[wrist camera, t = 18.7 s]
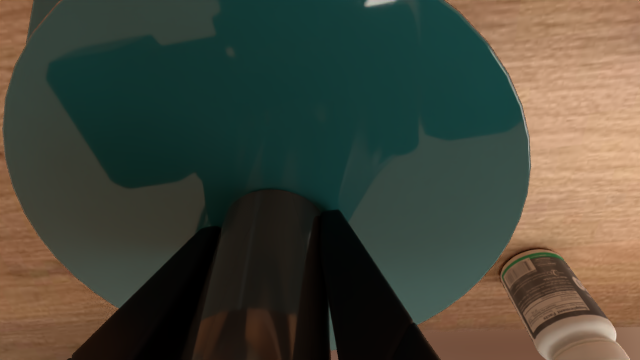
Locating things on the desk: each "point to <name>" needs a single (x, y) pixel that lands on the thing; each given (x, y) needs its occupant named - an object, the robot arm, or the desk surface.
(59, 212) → the lid
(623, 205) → the desk surface
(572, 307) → the pill bottle
